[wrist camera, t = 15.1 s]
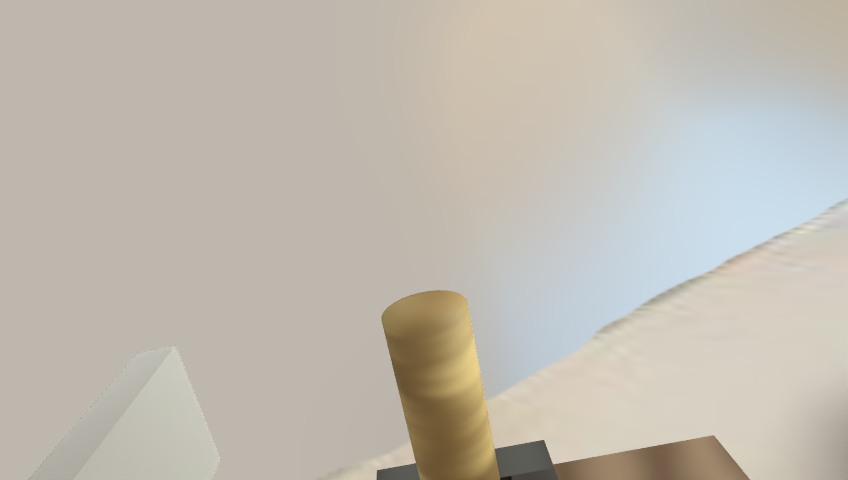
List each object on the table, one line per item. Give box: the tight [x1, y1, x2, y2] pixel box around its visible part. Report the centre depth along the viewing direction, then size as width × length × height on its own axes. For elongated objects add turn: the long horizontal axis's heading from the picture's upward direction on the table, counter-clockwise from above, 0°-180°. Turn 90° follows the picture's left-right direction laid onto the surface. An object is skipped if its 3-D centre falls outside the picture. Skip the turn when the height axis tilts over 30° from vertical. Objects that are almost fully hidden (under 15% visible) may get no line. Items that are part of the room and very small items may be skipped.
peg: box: [382, 290, 500, 480], centre depth 29 cm, size 4×4×16 cm
